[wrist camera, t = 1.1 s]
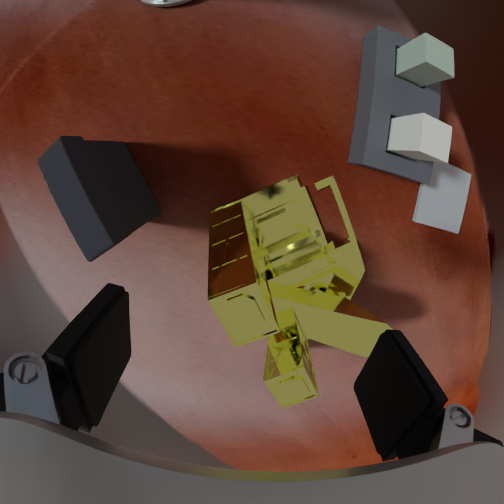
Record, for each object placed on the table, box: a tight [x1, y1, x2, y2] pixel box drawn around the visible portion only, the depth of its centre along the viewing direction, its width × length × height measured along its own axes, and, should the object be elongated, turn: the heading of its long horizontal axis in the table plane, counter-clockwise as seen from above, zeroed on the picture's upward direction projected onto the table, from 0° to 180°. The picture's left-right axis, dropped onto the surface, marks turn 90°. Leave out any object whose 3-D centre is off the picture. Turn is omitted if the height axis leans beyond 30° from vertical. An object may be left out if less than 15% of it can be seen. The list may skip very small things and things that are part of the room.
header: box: [348, 25, 441, 185], centre depth 27 cm, size 19×10×5 cm, turn 171°
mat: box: [412, 162, 471, 234], centre depth 33 cm, size 10×10×1 cm
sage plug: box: [394, 33, 454, 87], centre depth 22 cm, size 4×4×10 cm
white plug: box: [385, 113, 452, 163], centre depth 25 cm, size 4×4×10 cm
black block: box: [38, 136, 161, 262], centre depth 26 cm, size 11×4×15 cm, turn 27°
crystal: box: [208, 175, 393, 408], centre depth 30 cm, size 18×25×16 cm
